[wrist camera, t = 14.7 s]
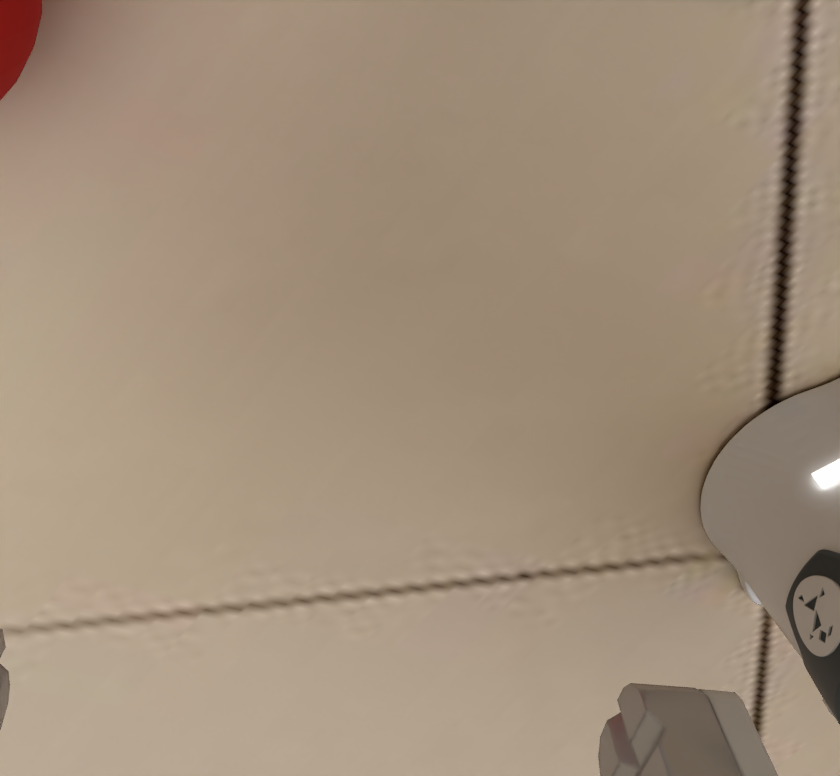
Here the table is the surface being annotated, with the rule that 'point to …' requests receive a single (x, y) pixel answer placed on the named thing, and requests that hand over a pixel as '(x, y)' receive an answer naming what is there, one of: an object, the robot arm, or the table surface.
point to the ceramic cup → (16, 38)
